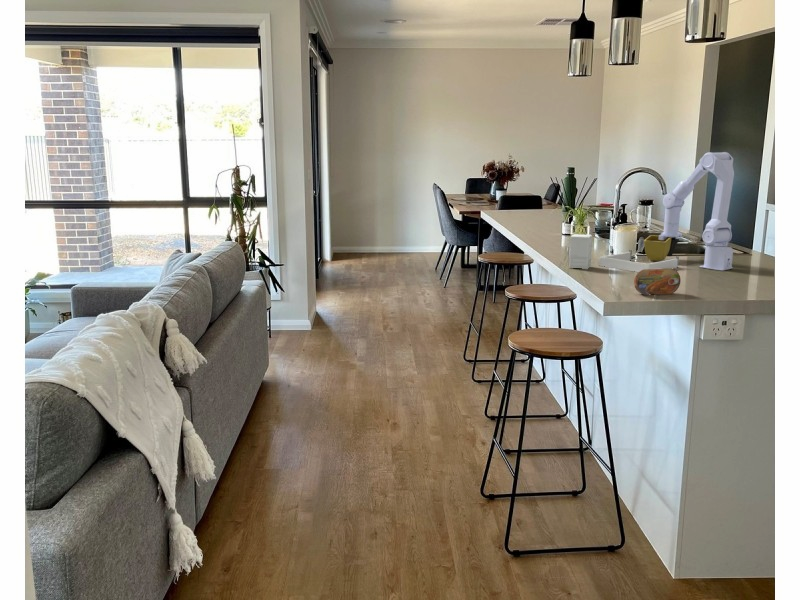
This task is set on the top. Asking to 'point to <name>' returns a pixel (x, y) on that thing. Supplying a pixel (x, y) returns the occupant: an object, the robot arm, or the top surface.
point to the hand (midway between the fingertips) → (668, 255)
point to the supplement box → (580, 251)
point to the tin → (657, 281)
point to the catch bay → (624, 262)
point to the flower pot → (657, 247)
